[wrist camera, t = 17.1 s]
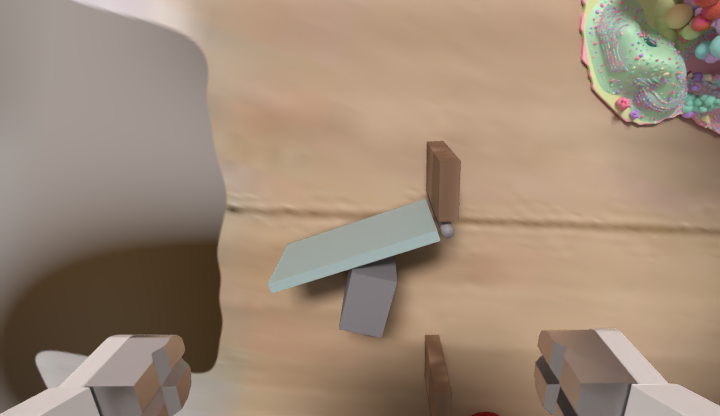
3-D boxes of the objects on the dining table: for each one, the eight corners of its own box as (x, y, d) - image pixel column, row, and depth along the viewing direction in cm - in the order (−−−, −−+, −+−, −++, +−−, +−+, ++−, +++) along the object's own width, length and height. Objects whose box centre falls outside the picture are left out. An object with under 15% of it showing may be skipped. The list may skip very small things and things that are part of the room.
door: (440, 203, 40) (455, 236, 32) (291, 252, 42) (272, 293, 35) (437, 194, 39) (452, 225, 32) (287, 244, 42) (267, 284, 34)
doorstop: (393, 238, 42) (397, 282, 33) (380, 285, 44) (381, 337, 36) (357, 231, 42) (351, 272, 33) (346, 278, 44) (338, 329, 35)
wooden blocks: (443, 141, 38) (460, 161, 30) (437, 375, 48) (449, 437, 40) (426, 141, 38) (439, 161, 30) (424, 375, 48) (434, 437, 40)
